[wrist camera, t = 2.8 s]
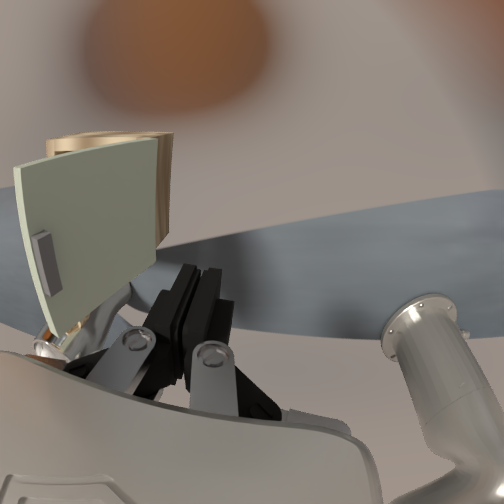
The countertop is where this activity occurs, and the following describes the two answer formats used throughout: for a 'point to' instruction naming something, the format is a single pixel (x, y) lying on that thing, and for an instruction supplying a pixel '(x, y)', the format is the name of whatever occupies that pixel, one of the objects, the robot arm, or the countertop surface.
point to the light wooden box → (103, 138)
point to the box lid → (87, 225)
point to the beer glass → (82, 331)
